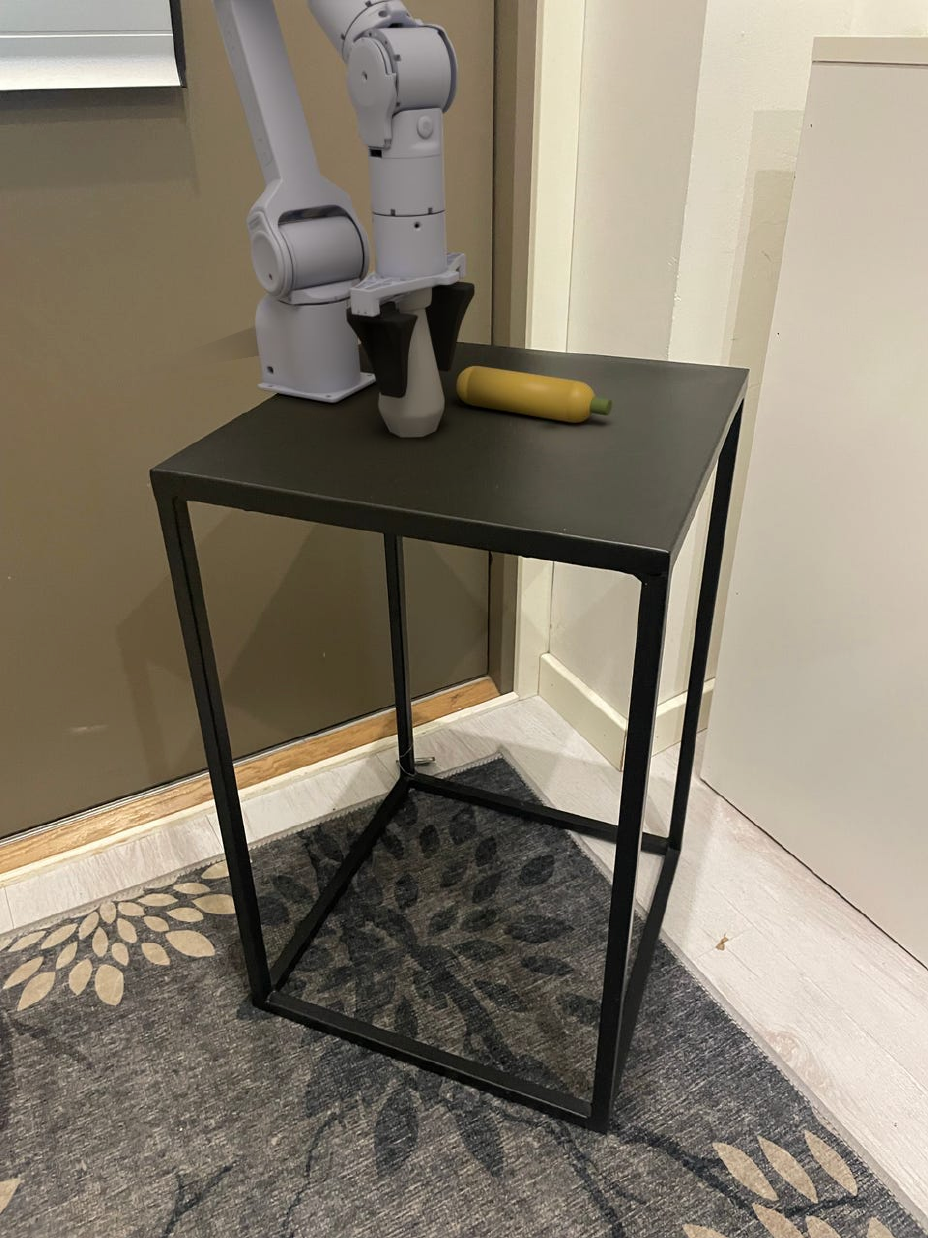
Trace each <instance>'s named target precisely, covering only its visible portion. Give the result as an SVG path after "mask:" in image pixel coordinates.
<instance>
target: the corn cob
mask: <svg viewBox="0 0 928 1238" xmlns="http://www.w3.org/2000/svg"><path fill="white" fill-rule="evenodd" d="M455 387H456V392H457V395H458V397H459V398H460V400H461V401H463V402H464V403H465V404H467V405H469V406H472V407H477V408H478V407H479V408H485V409H490V410H497V411H501V412H502V411H503V412H508V413H513V414H520V415H526V416H531V417H536V418H543V419H549V420H553V421H560V422H565V423H571V424H576V423H577V424H578V423H582V422H584V421H586V420H587V419H588V418H590V417H591V416H592V414H594V415H595V414H596V415H601V416H609V415H610V413H611V411H612V407H613V406H612V405H613V402H612V399H610V398H605V397H599V396H598V397H597V396H596V394H595V392H594V390H593V389H592V388H591V386H589V384H587V383H585V382H583V381H579V380H573V379H566V378H561V377H554V376H547V375H540V374H533V373H527V372H521V371H513V370H508V369H507V370H506V369H501V368H495V367H494V368H493V367H488V366H481V365H472V366H469V367H467V368H465V369H463V370H462V371H461V372H460V374H459V375H458V377H457V380H456V385H455Z"/></svg>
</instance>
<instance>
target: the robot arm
mask: <svg viewBox="0 0 928 1238" xmlns="http://www.w3.org/2000/svg"><path fill="white" fill-rule="evenodd" d="M210 1H211V4H212V5H211V6H212V8H213V11H214V16H215V18H216V22H217V26H218V29H219V32H220V35H221V38H222V42H223V46H224V50H225V53H226V56H227V60H228V63H229V66H230V70H231V73H232V77H233V81H234V83H235V86H236V90H237V94H238V97H239V100H240V104H241V108H242V111H243V114H244V117H245V121H246V125H247V128H248V131H249V135H250V139H251V142H252V145H253V149H254V153H255V155H256V156H255V157H256V159H257V163H258V166H259V169H260V172H261V176H262V179H263V183H264V186H265V189H264V191H263V192H262V193H261V194H260V196H259V197H258V198H257V200H256V201H255V202H254V203H253V205H252V207H251V209H250V210H249V212H248V215H247V217H246V219H245V223H246V228H247V232H248V237H249V243H250V258H251V265H252V268H253V272H254V275H255V277H256V280H257V282H258V283H259V285H260V286H261V287H262V289H263V290H264V291H265V292H266V294H264V295H263V296H262V297H261V299H260V300H259V302H258V303H257V307H256V311H255V317H254V329H255V337H256V343H257V350H258V358H259V364H260V373H261V379H262V382H261V383H258V384H257V389H258V390H259V391H264V392H268V393H269V392H271V393H275V394H281V395H286V396H292V397H297V398H303V399H308V400H313V401H319V402H324V403H330V404H335V403H338V402H339V401H342V400H343V399H346V398H347V397H349V396H351V395H353V394H356V393H358V392H359V391H361V390H363V389H365V388H367V387H368V386H370V385H372V384H374V383H376V384H377V388H378V390H379V392H380V393H381V395H383V396H389V397H394V398H402V397H404V396H405V394H406V390H407V381H408V355H409V347H410V342H411V337H412V333H413V330H414V327H415V324H416V321H417V319H418V316H417V315H413V314H405V313H400V309H399V308H398V309H396V304H395V303H397V302H399V301H402V300H404V298H403V296H404V295H406V294H410V292H411V291H415V290H420V289H424V288H429V287H431V288H432V300H431V304H430V305H429V306H427V307H426V308H425V312H426V317H427V322H428V327H429V332H430V337H431V342H432V347H433V351H434V355H435V360H436V364H437V369H438V372H439V371H440V372H446V373H447V372H450V371H451V370H452V367H453V363H454V359H455V353H456V349H457V344H458V340H459V336H460V335H459V334H460V330H461V327H462V324H463V320H464V318H465V315H466V313H467V310H468V308H469V306H470V304H471V302H472V300H473V298H474V296H475V295H476V294H475V293H476V292H475V284H474V283H472V282H467V281H460V280H461V279H464V278H466V277H467V268H466V267H467V259H466V258H467V257H466V256H467V255H466V253H462V252H452V251H447V230H446V229H447V228H446V227H447V226H446V223H447V222H446V191H445V190H446V188H445V160H444V159H445V158H444V156H445V154H444V151H445V150H444V119H443V117H444V116H443V115H444V114H445V113H446V112H448V111H449V110H450V108H451V107H452V105H453V103H454V101H455V98H456V96H457V91H458V87H459V65H458V59H457V54H456V50H455V48H454V45H453V43H452V41H451V39H450V38H449V37H448V34H447V31H446V30H445V28H444V27H442V26H441V25H440V24H437V23H424V22H423V21H422V20H421V18H414V17H412V15H411V14H410V12H409V11H408V9H407V8H406V7H405V4H404V3H403V1H401V0H305V1H306V5H307V8H308V10H309V12H310V13H311V15H312V17H313V18H314V19H315V21H316V23H317V24H318V25H319V27H320V28H321V30H322V31H323V33H324V35H325V36H326V37H327V38H328V40H329V41H330V43H331V45H332V47H334V49H335V50H336V52H337V53H338V55H339V56H340V58H341V59H342V61H343V62H344V64H345V66H347V73H345V77H344V78H345V83H346V89H347V94H348V97H349V100H350V103H351V105H352V107H353V110H354V112H355V115H356V118H357V125H358V136H359V138H360V139H361V144H362V145H363V146H365V147H367V160H368V161H367V162H368V176H369V189H370V191H369V192H370V204H371V219H372V232H373V234H372V235H373V236H372V237H373V248H374V261H375V262H374V263H375V269H374V270H373V271H372V272H371V273H369V274H368V272H369V269H370V265H371V259H372V257H371V256H372V253H371V252H372V251H371V244H370V239H369V236H368V234H367V231H366V229H365V228H364V225H363V224H362V223H361V221H360V219H359V218H358V215H357V213H356V211H355V208H354V205H353V202H352V197H351V195H350V194H349V193H348V192H346V191H345V190H343V189H342V188H341V187H339V186H337V185H336V184H334V183H333V182H332V181H330V180H329V179H328V178H326V177H325V176H324V175H323V174H322V173H321V170H320V166H319V163H318V159H317V155H316V151H315V148H314V145H313V140H312V138H311V133H310V130H309V127H308V122H307V119H306V116H305V112H304V109H303V105H302V101H301V97H300V94H299V90H298V87H297V83H296V80H295V76H294V72H293V68H292V65H291V61H290V57H289V54H288V50H287V47H286V43H285V40H284V36H283V33H282V29H281V25H280V22H279V21H280V20H279V18H278V13H277V11H276V7H275V4H274V3H275V2H274V0H210ZM359 342H360V344H361V346H362V347H363V350H364V352H365V353H366V357H367V359H368V361H369V364H370V366H371V369H372V372H373V373H368V372H363V371H361V362H360V351H359V349H360V348H359Z"/></svg>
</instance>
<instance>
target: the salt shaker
mask: <svg viewBox="0 0 928 1238" xmlns="http://www.w3.org/2000/svg"><path fill="white" fill-rule="evenodd" d="M403 298H404V300H402V301H399V302H397V303H395V304H396V309H398V308H399V309H400V313H405V314H413V315H417V316H418V319H417V321H416V324H415V327H414V330H413V333H412V337H411V342H410V347H409V355H408V381H407V390H406V394H405V396H404V397H402V398H394V397H389V396H383V395H381V393H380V391H379V394H378V401H377V402H378V403H377V406H378V407H377V408H378V411H379V413H380V415H381V417H382V419H383V421H384V423H385V425H386V427H387V429H388V431H389V432H390V433H392V434H394V435H395V436H398V437H399V438H423V437H426V436H428V435H430V434H433V433H434V432H437V429H438V426H439V424H440V421H441V418H442V416H443V413H444V410H445V401H446V400H445V394H444V391H443V386H442V381H441V378H440V374H439V370H438V369H437V364H436V360H435V355H434V351H433V347H432V342H431V337H430V332H429V327H428V322H427V317H426V312H425V308H426V307H427V306H429V305H430V304H431V300H432V288H431V287H429V288H424V289H420V290H415V291H411V292H410V294H406V295H404V296H403Z"/></svg>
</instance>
